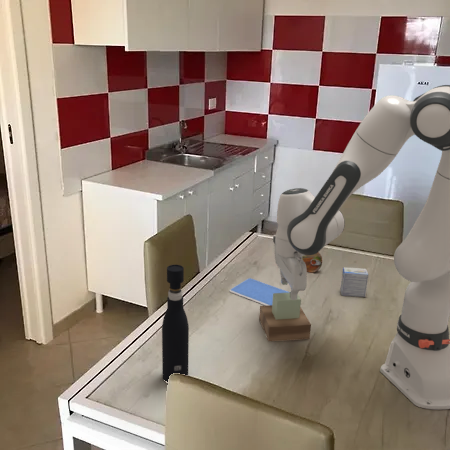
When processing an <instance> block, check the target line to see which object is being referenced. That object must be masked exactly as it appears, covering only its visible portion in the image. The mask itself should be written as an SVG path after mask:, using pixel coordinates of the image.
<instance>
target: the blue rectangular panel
mask: <svg viewBox="0 0 450 450" xmlns="http://www.w3.org/2000/svg"><path fill="white" fill-rule="evenodd" d="M289 292H290V291H287V290H285V289H282V288H279V287H276V286H274V285H270V284H267V283H266V282H262V281H260V280H257V279H254V278H251V277H250V278H249V277H248V278H246V279H245V280H243V281H242V282H240V283H239V284H237V285H235V286H233V287H232V288H230V289H229V293H231V294H234V295H237V296H240V297H242V298H245V299H248V300H249V301H252V302H255V303H258V304H260V305H262V306H267V305H272V302H273V293H289Z"/></svg>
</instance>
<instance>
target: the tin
mask: <svg viewBox="0 0 450 450" xmlns="http://www.w3.org/2000/svg"><path fill="white" fill-rule="evenodd" d="M302 260H303V261H304V262H305V264H306V268H307V273H316V272H318V271H319V270H320V269H321V267H322V265H323V257H322V255H321V253H320V251H319V252H318V253H316V254H314V255H304V256H302Z"/></svg>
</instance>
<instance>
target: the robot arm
mask: <svg viewBox="0 0 450 450" xmlns="http://www.w3.org/2000/svg"><path fill="white" fill-rule="evenodd" d="M413 136H416V137H417V138H418V139H420V140H422V141H423V142H424V143H427V144H428V145H430V146H432V147H434V148H435V149H437V150H439V151H441V156H440V160H439V162H438V166H437V168H436V172H435V176H434V179H433V181H432V185H431V188H430V191H429V194H428V196H427V199H426V202H425V204H424V206H423V207H422V210H421V211H420V213H419V215H418V216H417V218H416V220H415V222H414V224H413V225H412V227H411V229H410V231H409V232H408V234H407V236H406V237H405V238H404V240H403V241H402V242H401V243H400V244H399V245H398V246H397V247H396V249H395V251H394V253H393V254H394V255H393V262H394V267H395V269H396V271H397V272H398V274H399V275H400V276H401V277H402V278H403V279H404V280H407V281H408V282H409V284H408V285H407V287H406V289H405V291H404V297H403V302H402V308H401V314H400V315H399V317H398V320H397V323H396V324H397V325H396V334H395V335H394V338H393V339H392V340H391V343H389V344H390V345H389V348H388V351H387V355H386V357H385V358H386V359H385V362H384V363H383V364H382V365H381V366H380V369H379V371H380V373H381V374H382V375H383V376H384V377H385V378H387V380H389V381H390V382H391V384H393V385H394V386H395V388H396V389H398V390H399V391H400V392H401V393H402V394H403V395H404V397H406V398H408V400H409V401H410V402H411V403H412V404H413V405H414V406H416V407H419V408H423V409H427V410H449V409H450V346H449V345H450V331H449V330H450V329H449V325H448V324H449V320H450V84H444V85H443V84H442V85H438V86H436V87H433V88H430V90H428V91H425V92H424V93H422V94H420V95H418V96H416V97H415V98H413V101H411V100H407V98H406V99H405V98H404V97H401V96H399V95H391V94H390V95H386V96H383V97H381V98H380V99H379V100H378V101H377V102H376V103H375V104H374V105H373V107H371V109H370V110H369V111H368V112H367V114H366V115H365V117H364V118H363V119H362V120H361V122H360V123H359V125H358V127H357V128H356V130H355V132H354V133H353V135H352V137H351V139H350V140H349V142H348V143H347V145H346V147H345V149H344V151H343V152H342V155H341V156H340V158H339V160H338V162H337V163H336V165H335V167H334V169H333V170H332V172H331V173H330V175H329V177H328V178H327V180H326V181H325V183H324V184H323V186H322V187H321V189H320V190H319V191H318V193H317V194H316V196H314V195H313V194H312V192H311V191H310V190H309V189H306V188H302V187H299V188H298V187H296V188H291V189H287V190H285V191H283V192H282V193H281V194H280V195H279V198H278V203H277V209H276V210H277V211H276V223H277V230H276V231H275V234H273V236H272V242H273V244H274V245H273V246H274V248H273V249H274V250H273V251H274V252H273V253H274V262H275V264H276V266H277V267H278V269H279V274H280V283H281V284H282V285H283V286H287V285H289V287H290V289H291V290H290V291H289V292H290V298H291V300H296V299H297V294H298V295H299V292H303V291H305V290H306V288H307V285H308V284H307V279H308V278H307V277H308V276H307V274H308V272H307V268H306V264H305V262H304V261H303V260H302V256H304V255H314V254H316V253H318V252H319V253H320V251H322V249H323V248H324V247H325V246H327V245H328V244H330V243H331V242H333V241H334V240H336V239H337V238H338V237H339V236H340V235H341V234H342V233H343V231H344V230H345V227H346V225H345V224H346V221H345V217H344V214H343V213H342V211H341V210H340V209H341V208H342V207H343V205H344V204H345V203H346V201H347V200H348V199H349V197H351V196H352V195H353V194H354V193H355V192H357V190H359V189H360V188H362V187H363V186H365V185H366V184H368V183H369V182H371V181H372V180H373V181H374V179H376V178H377V177H378V176H379V175H381V174H382V173H383V172H384V171H385V170H386V169H387V168H388V167H389V166H390V164H391V163H393V161H394V159H395V158H396V157H397V156H398V154H399V152H400V151H401V149H402V148H403V147H404V145H405V143H406V142H408V140H409V139H410V138H411V137H413Z"/></svg>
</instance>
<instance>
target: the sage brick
mask: <svg viewBox="0 0 450 450" xmlns="http://www.w3.org/2000/svg"><path fill="white" fill-rule="evenodd" d="M288 292H289V293H273V302H272V313H273V315H274V317H275V319H276V320H277V319H292V318H299V317H300V307H301V308H302V306H301V305H302V299H301V297H300V296H299V293H298V294H297V299H296V300H291V298H290V292H291V291H288Z"/></svg>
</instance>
